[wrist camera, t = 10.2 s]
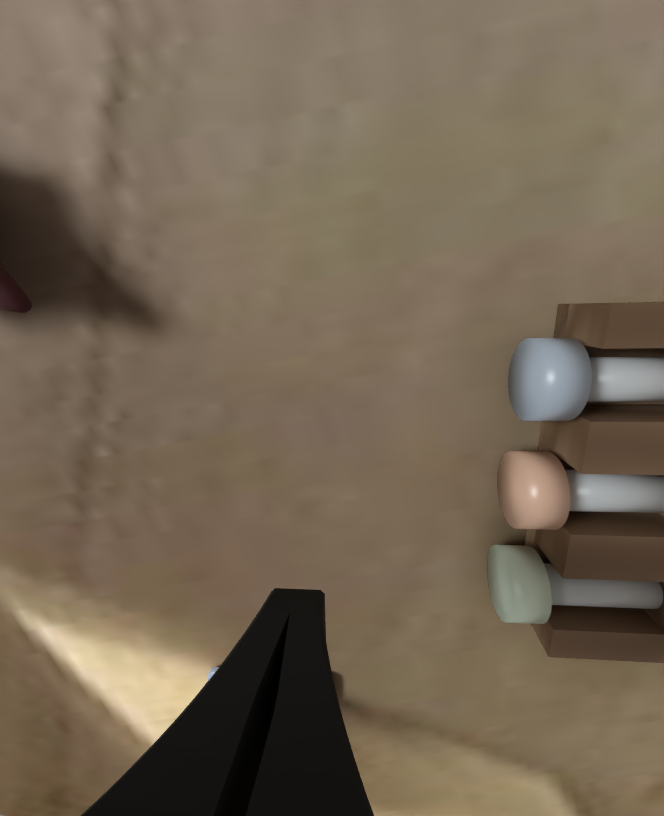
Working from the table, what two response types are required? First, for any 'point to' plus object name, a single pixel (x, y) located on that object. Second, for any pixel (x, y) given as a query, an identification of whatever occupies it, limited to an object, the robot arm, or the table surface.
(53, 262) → the table surface
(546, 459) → the knob clay
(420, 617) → the table surface
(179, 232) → the table surface
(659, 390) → the knob slate
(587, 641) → the mount
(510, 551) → the knob sage
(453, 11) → the table surface
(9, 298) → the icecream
